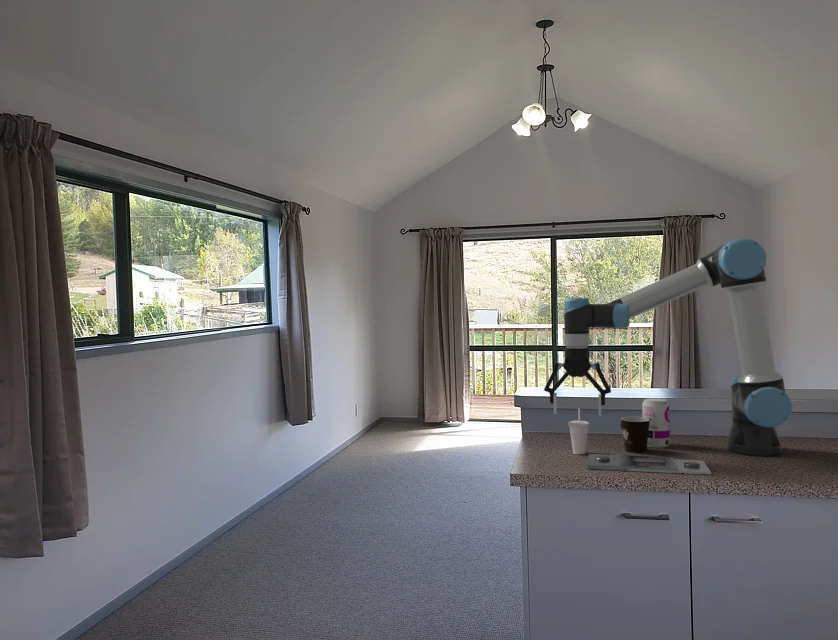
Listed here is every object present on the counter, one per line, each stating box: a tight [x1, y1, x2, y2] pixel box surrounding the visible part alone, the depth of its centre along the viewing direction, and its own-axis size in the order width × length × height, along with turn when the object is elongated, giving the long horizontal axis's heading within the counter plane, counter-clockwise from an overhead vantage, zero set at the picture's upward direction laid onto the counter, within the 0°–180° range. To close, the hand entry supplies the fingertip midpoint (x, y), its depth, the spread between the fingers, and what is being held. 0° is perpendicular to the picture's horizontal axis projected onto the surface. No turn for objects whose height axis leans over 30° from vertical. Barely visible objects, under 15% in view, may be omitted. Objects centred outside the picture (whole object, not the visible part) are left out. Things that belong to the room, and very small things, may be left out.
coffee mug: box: [620, 416, 650, 454], centre depth 194 cm, size 12×9×10 cm
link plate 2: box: [625, 458, 713, 476], centre depth 173 cm, size 22×13×1 cm, turn 73°
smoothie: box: [568, 408, 590, 455], centre depth 191 cm, size 6×6×14 cm
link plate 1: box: [587, 453, 678, 472], centre depth 176 cm, size 24×13×2 cm, turn 73°
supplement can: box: [641, 397, 671, 449], centre depth 199 cm, size 8×8×15 cm
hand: (577, 414), depth 191 cm, fingers open, 13 cm apart
